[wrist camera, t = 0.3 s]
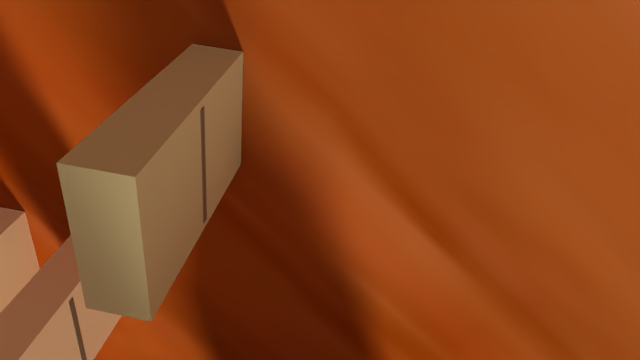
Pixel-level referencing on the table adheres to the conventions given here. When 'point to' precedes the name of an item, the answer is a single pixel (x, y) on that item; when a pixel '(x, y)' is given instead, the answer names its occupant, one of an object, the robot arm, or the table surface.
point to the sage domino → (153, 180)
